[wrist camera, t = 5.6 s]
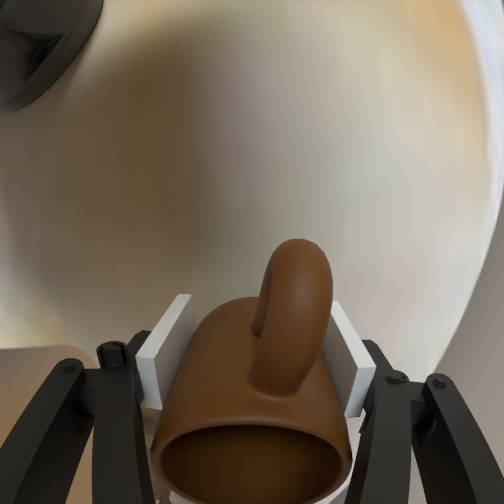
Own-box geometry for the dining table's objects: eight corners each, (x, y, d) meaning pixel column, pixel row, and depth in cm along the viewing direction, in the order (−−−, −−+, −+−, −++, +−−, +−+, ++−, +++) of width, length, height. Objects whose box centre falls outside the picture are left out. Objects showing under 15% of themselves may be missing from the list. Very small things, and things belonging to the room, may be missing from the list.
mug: (213, 200, 15) (144, 229, 6) (353, 229, 15) (458, 289, 6) (188, 383, 18) (150, 498, 9) (299, 401, 18) (315, 518, 9)
